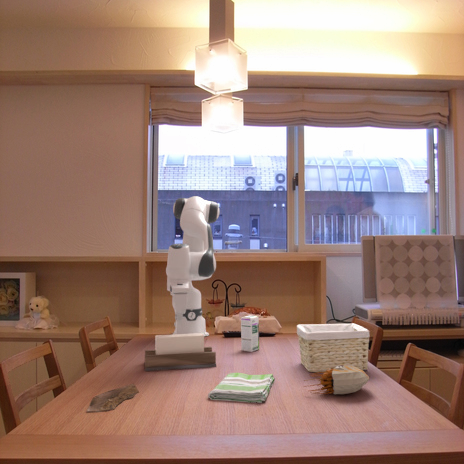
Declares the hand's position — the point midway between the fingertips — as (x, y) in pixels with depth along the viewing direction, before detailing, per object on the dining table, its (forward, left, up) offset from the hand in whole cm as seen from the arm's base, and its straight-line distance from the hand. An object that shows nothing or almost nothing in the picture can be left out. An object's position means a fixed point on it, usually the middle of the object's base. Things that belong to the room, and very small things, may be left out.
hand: (178, 322), depth 165 cm
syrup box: (-17, +32, -16) cm, 40 cm away
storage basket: (+16, +56, -16) cm, 60 cm away
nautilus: (+43, +44, -16) cm, 63 cm away
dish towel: (+34, +17, -17) cm, 41 cm away
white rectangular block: (0, 0, -15) cm, 15 cm away
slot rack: (0, 0, -16) cm, 16 cm away
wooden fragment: (+32, -22, -17) cm, 42 cm away
